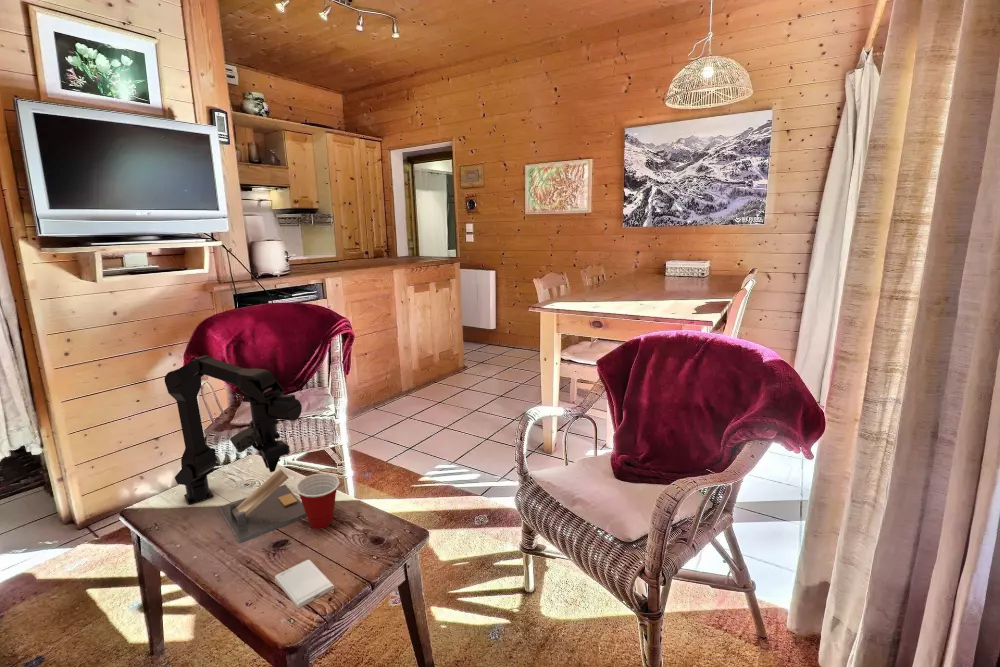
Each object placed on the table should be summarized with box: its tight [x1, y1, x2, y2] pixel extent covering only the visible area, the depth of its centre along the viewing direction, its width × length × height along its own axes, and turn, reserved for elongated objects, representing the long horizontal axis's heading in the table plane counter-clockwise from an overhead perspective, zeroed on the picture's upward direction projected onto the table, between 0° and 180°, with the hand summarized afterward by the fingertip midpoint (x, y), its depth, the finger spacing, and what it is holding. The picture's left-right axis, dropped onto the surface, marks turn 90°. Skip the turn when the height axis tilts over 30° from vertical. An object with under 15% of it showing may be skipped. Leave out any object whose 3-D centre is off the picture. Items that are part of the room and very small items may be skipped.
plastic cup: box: [295, 472, 340, 530], centre depth 133 cm, size 11×11×12 cm
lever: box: [232, 468, 289, 520], centre depth 138 cm, size 5×16×2 cm
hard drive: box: [274, 559, 335, 609], centre depth 112 cm, size 2×8×12 cm
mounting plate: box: [219, 484, 307, 544], centre depth 139 cm, size 20×18×4 cm
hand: (270, 469), depth 139 cm, fingers open, 3 cm apart
